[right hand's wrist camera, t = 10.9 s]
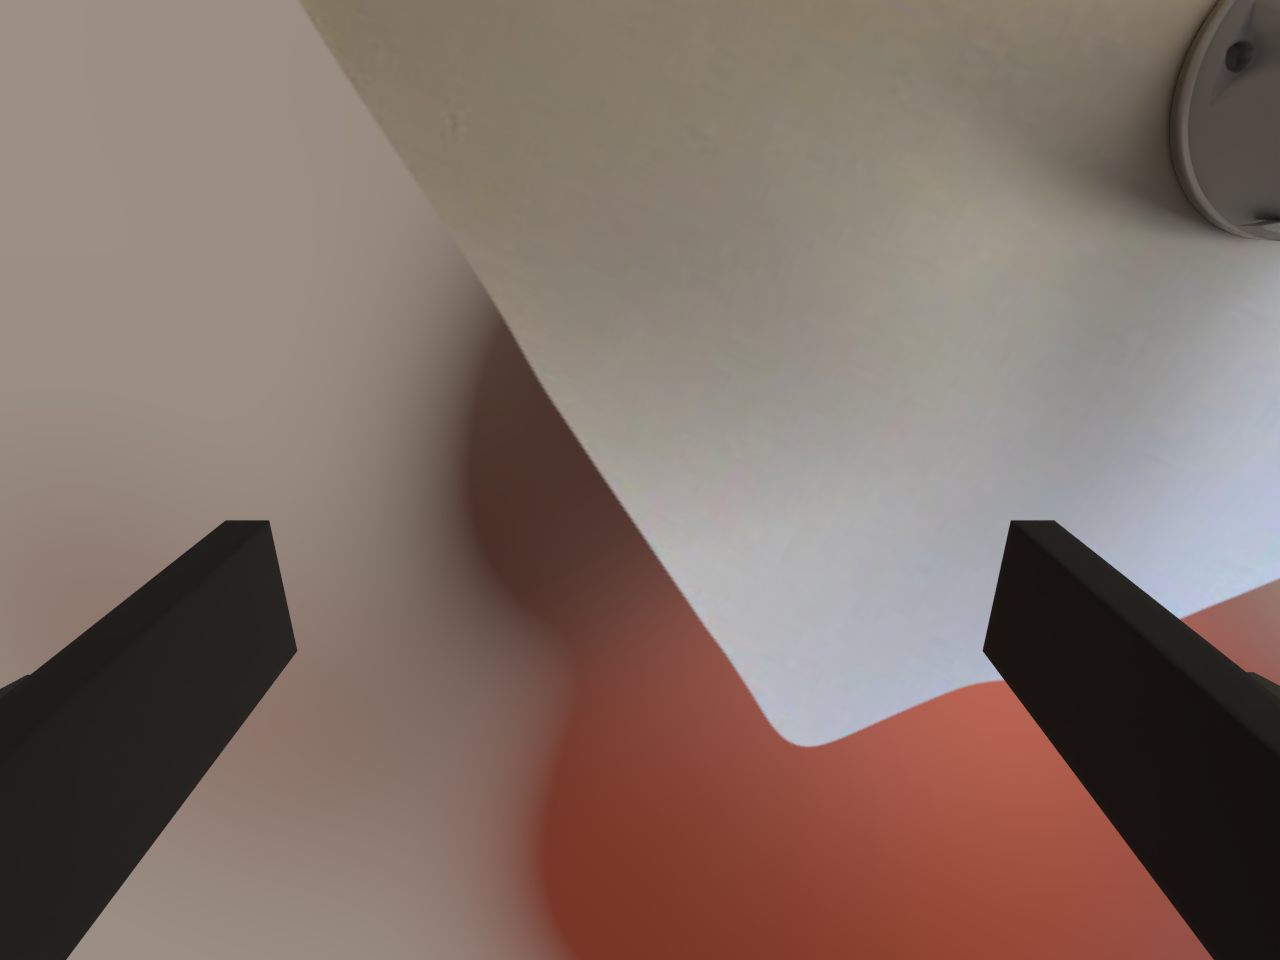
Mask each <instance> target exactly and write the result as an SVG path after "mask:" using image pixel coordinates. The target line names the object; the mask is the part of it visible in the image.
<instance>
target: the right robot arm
mask: <svg viewBox="0 0 1280 960" xmlns="http://www.w3.org/2000/svg"><path fill="white" fill-rule="evenodd" d="M1170 146H1171V155H1172V160H1173V165H1174V168H1175V172H1176V175H1177V178H1178V180H1179V183H1180V185H1181V187H1182V189H1183V191H1184V193H1185V194H1186V196H1187V198H1188V199H1189V201H1190V202H1191V203H1192V204H1193V206H1194V207H1195V208H1196V209H1197V210H1198V211H1199V212H1200V213H1201V214H1202V215H1203V216H1204V217H1205V218H1206V219H1207V220H1209V221H1210V222H1212V223H1213V224H1214V225H1216V226H1218V227H1220V228H1221V229H1223V230H1225V231H1228V232H1230V233H1233V234H1235V235H1239V236H1243V237H1247V238H1253V239H1261V240H1274V241H1280V0H1220V1H1219V2H1218V3H1217V5H1216V6H1215V7H1214V9H1213V10H1212V11H1211V13H1210V14H1209V16H1208V17H1207V19H1206V21H1205V22H1204V24H1203V25H1202V27H1201V28H1200V30H1199V32H1198V34H1197V36H1196V38H1195V39H1194V41H1193V43H1192V45H1191V47H1190V50H1189V52H1188V54H1187V56H1186V58H1185V61H1184V63H1183V66H1182V69H1181V72H1180V75H1179V78H1178V81H1177V85H1176V89H1175V92H1174V97H1173V103H1172V108H1171V118H1170ZM296 652H297V647H296V643H295V638H294V634H293V629H292V624H291V620H290V615H289V610H288V606H287V601H286V596H285V592H284V587H283V583H282V578H281V573H280V569H279V564H278V560H277V555H276V550H275V546H274V541H273V536H272V532H271V527H270V522H269V521H268V520H267V521H264V520H260V521H257V520H256V521H255V520H254V521H253V520H242V521H241V520H240V521H239V520H238V521H237V520H235V521H234V520H230V521H229V520H226V521H225V522H223V523H222V524H221V525H219V526H218V527H217V528H216V529H214V530H213V531H212V532H211V533H209V534H208V535H207V536H206V537H204V538H203V539H202V540H201V541H199V542H198V543H197V544H195V545H194V546H193V547H192V548H190V549H189V550H188V551H187V552H185V553H184V554H183V555H182V556H180V557H179V558H178V559H176V560H175V561H174V562H173V563H171V564H170V565H169V566H168V567H166V568H165V569H164V570H163V571H161V572H160V573H159V574H158V575H156V576H155V577H154V578H152V579H151V580H150V581H149V582H147V583H146V584H145V585H144V586H142V587H141V588H140V589H138V590H137V591H136V592H135V593H133V594H132V595H131V596H130V597H128V598H127V599H126V600H125V601H123V602H122V603H121V604H120V605H118V606H117V607H116V608H114V609H113V610H112V611H111V612H109V613H108V614H107V615H106V616H104V617H103V618H102V619H101V620H99V621H98V622H97V623H95V624H94V625H93V626H92V627H90V628H89V629H88V630H87V631H85V632H84V633H83V634H82V635H80V636H79V637H78V638H77V639H75V640H74V641H73V642H71V643H70V644H69V645H68V646H66V647H65V648H64V649H63V650H61V651H60V652H59V653H58V654H56V655H55V656H54V657H52V658H51V659H50V660H49V661H47V662H46V663H45V664H44V665H42V666H41V667H40V668H39V669H37V670H36V671H35V672H34V673H32V674H31V675H26V676H24V677H22V678H20V679H19V680H17V681H15V682H13V683H11V684H9V685H7V686H5V687H3V688H1V689H0V960H66V959H67V958H68V957H69V955H70V954H71V952H72V951H73V950H74V948H75V947H76V946H77V944H78V943H79V942H80V940H81V939H82V938H83V936H84V935H85V934H86V932H87V931H88V930H89V928H90V927H91V926H92V924H93V923H94V922H95V920H96V919H97V918H98V916H99V915H100V914H101V912H102V911H103V910H104V908H105V907H106V906H107V904H108V903H109V902H110V900H111V899H112V898H113V896H114V895H115V894H116V892H117V891H118V890H119V888H120V887H121V886H122V884H123V883H124V882H125V880H126V879H127V878H128V876H129V875H130V874H131V872H132V871H133V870H134V868H135V867H136V866H137V864H138V863H139V862H140V860H141V859H142V858H143V856H144V855H145V854H146V852H147V851H148V850H149V848H150V847H151V846H152V844H153V843H154V842H155V840H156V839H157V838H158V836H159V835H160V834H161V832H162V831H163V830H164V828H165V827H166V826H167V824H168V823H169V822H170V820H171V819H172V818H173V816H174V815H175V814H176V812H177V811H178V810H179V808H180V807H181V806H182V804H183V803H184V802H185V800H186V799H187V797H188V796H189V795H190V794H191V792H192V791H193V790H194V788H195V787H196V785H197V784H198V783H199V781H200V780H201V779H202V777H203V776H204V775H205V773H206V772H207V771H208V769H209V768H210V767H211V765H212V764H213V763H214V761H215V760H216V759H217V757H218V756H219V755H220V753H221V752H222V751H223V749H224V748H225V747H226V745H227V744H228V743H229V741H230V740H231V739H232V737H233V736H234V735H235V733H236V732H237V731H238V729H239V728H240V727H241V725H242V724H243V723H244V721H245V720H246V719H247V717H248V716H249V715H250V713H251V712H252V711H253V709H254V708H255V707H256V705H257V704H258V703H259V701H260V700H261V699H262V697H263V696H264V695H265V693H266V692H267V691H268V689H269V688H270V687H271V685H272V684H273V683H274V681H275V680H276V679H277V677H278V676H279V675H280V673H281V672H282V671H283V669H284V668H285V667H286V665H287V664H288V663H289V661H290V660H291V659H292V657H293V656H294V655H295V653H296ZM983 652H984V653H985V655H986V656H987V657H988V659H989V660H990V661H991V663H992V664H993V665H994V667H995V668H996V669H997V671H998V672H999V673H1000V675H1001V676H1002V677H1003V679H1004V680H1005V681H1006V683H1007V684H1008V685H1009V687H1010V688H1011V689H1012V691H1013V692H1014V693H1015V695H1016V696H1017V697H1018V699H1019V700H1020V701H1021V703H1022V704H1023V705H1024V707H1025V708H1026V709H1027V711H1028V712H1029V713H1030V715H1031V716H1032V717H1033V719H1034V720H1035V721H1036V723H1037V724H1038V725H1039V727H1040V728H1041V729H1042V731H1043V732H1044V733H1045V735H1046V736H1047V737H1048V739H1049V740H1050V741H1051V743H1052V744H1053V745H1054V747H1055V748H1056V749H1057V751H1058V752H1059V753H1060V755H1061V756H1062V757H1063V759H1064V760H1065V761H1066V763H1067V764H1068V765H1069V767H1070V768H1071V769H1072V771H1073V772H1074V773H1075V775H1076V776H1077V777H1078V779H1079V780H1080V781H1081V783H1082V784H1083V785H1084V787H1085V788H1086V790H1087V791H1088V792H1089V794H1090V795H1091V796H1092V797H1093V799H1094V800H1095V802H1096V803H1097V804H1098V805H1099V807H1100V808H1101V810H1102V811H1103V812H1104V814H1105V815H1106V816H1107V818H1108V819H1109V820H1110V822H1111V823H1112V824H1113V826H1114V827H1115V828H1116V830H1117V831H1118V832H1119V834H1120V835H1121V836H1122V838H1123V839H1124V840H1125V842H1126V843H1127V844H1128V846H1129V847H1130V848H1131V850H1132V851H1133V852H1134V854H1135V855H1136V856H1137V858H1138V859H1139V860H1140V862H1141V863H1142V864H1143V866H1144V867H1145V868H1146V870H1147V871H1148V872H1149V874H1150V875H1151V876H1152V878H1153V879H1154V880H1155V882H1156V883H1157V884H1158V886H1159V887H1160V888H1161V890H1162V891H1163V892H1164V894H1165V895H1166V896H1167V898H1168V899H1169V900H1170V902H1171V903H1172V904H1173V906H1174V907H1175V908H1176V910H1177V911H1178V912H1179V914H1180V915H1181V916H1182V918H1183V919H1184V920H1185V922H1186V923H1187V924H1188V926H1189V927H1190V928H1191V930H1192V931H1193V932H1194V934H1195V935H1196V936H1197V938H1198V939H1199V940H1200V942H1201V943H1202V944H1203V946H1204V947H1205V948H1206V950H1207V951H1208V952H1209V954H1210V955H1211V956H1212V958H1213V959H1214V960H1280V686H1279V685H1277V684H1275V683H1273V682H1271V681H1269V680H1267V679H1265V678H1264V677H1262V676H1260V675H1258V674H1256V673H1254V672H1245V671H1244V670H1243V669H1241V668H1240V667H1239V666H1238V665H1236V664H1235V663H1234V662H1232V661H1231V660H1230V659H1229V658H1227V657H1226V656H1225V655H1224V654H1222V653H1221V652H1220V651H1219V650H1217V649H1216V648H1215V647H1214V646H1212V645H1211V644H1210V643H1209V642H1207V641H1206V640H1205V639H1203V638H1202V637H1201V636H1200V635H1198V634H1197V633H1196V632H1195V631H1193V630H1192V629H1191V628H1190V627H1188V626H1187V625H1186V624H1184V623H1183V622H1182V621H1181V620H1179V619H1178V618H1177V617H1176V616H1174V615H1173V614H1172V613H1171V612H1169V611H1168V610H1167V609H1166V608H1164V607H1163V606H1162V605H1160V604H1159V603H1158V602H1157V601H1155V600H1154V599H1153V598H1152V597H1150V596H1149V595H1148V594H1147V593H1145V592H1144V591H1143V590H1142V589H1140V588H1139V587H1138V586H1136V585H1135V584H1134V583H1133V582H1131V581H1130V580H1129V579H1128V578H1126V577H1125V576H1124V575H1123V574H1121V573H1120V572H1119V571H1117V570H1116V569H1115V568H1114V567H1112V566H1111V565H1110V564H1109V563H1107V562H1106V561H1105V560H1104V559H1102V558H1101V557H1100V556H1098V555H1097V554H1096V553H1095V552H1093V551H1092V550H1091V549H1090V548H1088V547H1087V546H1086V545H1085V544H1083V543H1082V542H1081V541H1080V540H1078V539H1077V538H1076V537H1074V536H1073V535H1072V534H1071V533H1069V532H1068V531H1067V530H1066V529H1064V528H1063V527H1062V526H1061V525H1059V524H1058V523H1057V522H1055V521H1054V520H1011V522H1010V527H1009V532H1008V536H1007V541H1006V546H1005V550H1004V555H1003V559H1002V564H1001V569H1000V573H999V578H998V583H997V587H996V592H995V596H994V601H993V606H992V610H991V615H990V620H989V624H988V629H987V633H986V638H985V643H984V647H983Z"/></svg>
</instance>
